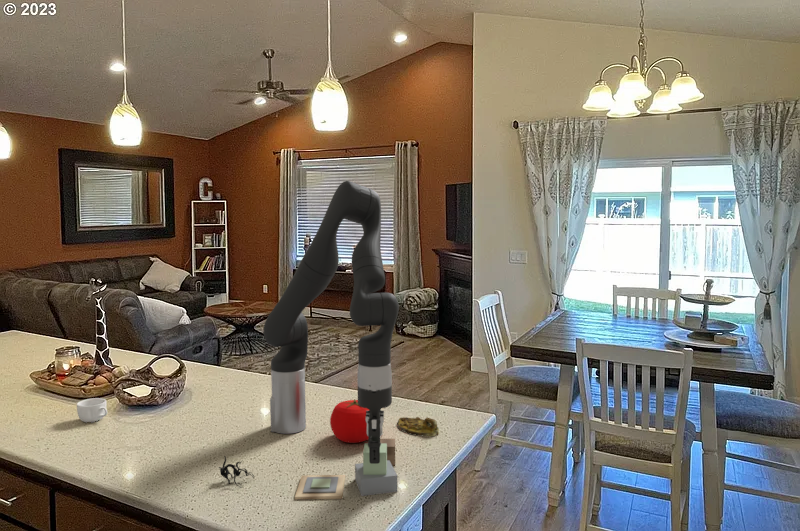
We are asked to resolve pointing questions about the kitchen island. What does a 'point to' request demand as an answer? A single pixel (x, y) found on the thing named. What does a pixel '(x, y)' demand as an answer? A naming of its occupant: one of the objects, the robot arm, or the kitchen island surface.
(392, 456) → the walnut block
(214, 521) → the kitchen island surface
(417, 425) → the stuffed eggplant half
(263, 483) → the kitchen island surface
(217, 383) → the kitchen island surface
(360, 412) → the tomato
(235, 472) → the creature
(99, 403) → the teacup
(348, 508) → the kitchen island surface
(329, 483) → the tile
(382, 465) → the sage block
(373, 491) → the grey base block
